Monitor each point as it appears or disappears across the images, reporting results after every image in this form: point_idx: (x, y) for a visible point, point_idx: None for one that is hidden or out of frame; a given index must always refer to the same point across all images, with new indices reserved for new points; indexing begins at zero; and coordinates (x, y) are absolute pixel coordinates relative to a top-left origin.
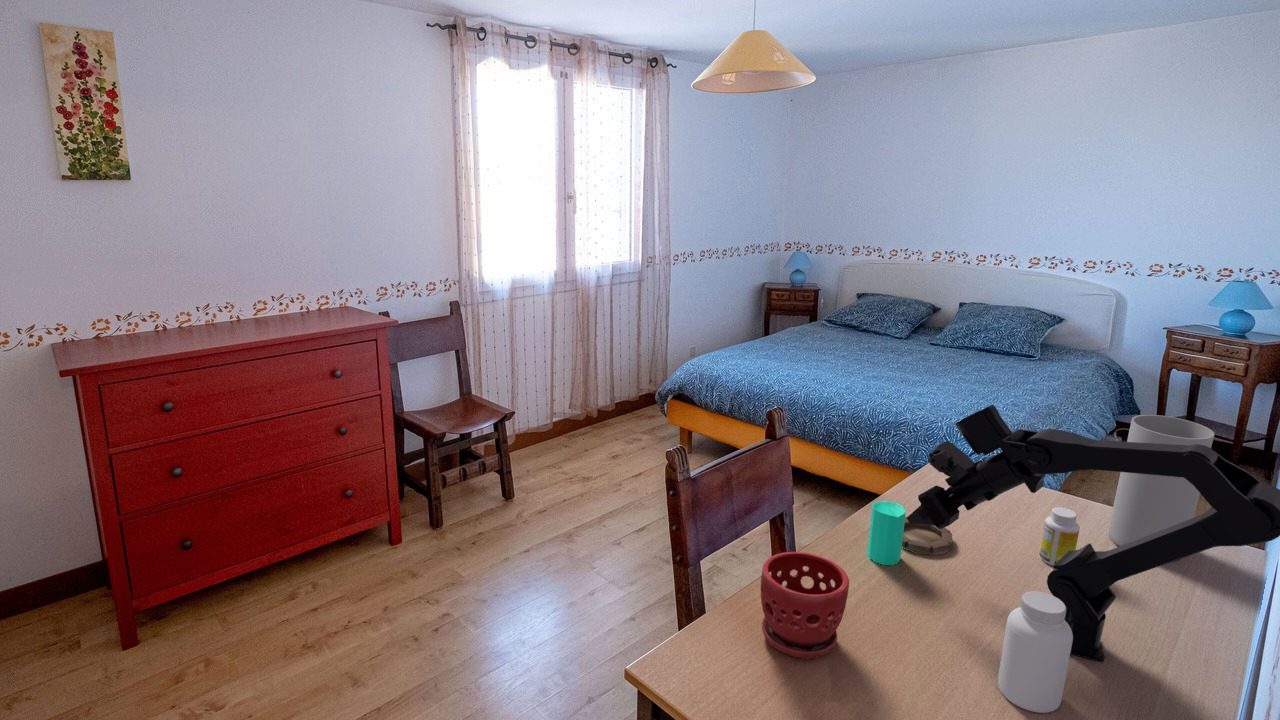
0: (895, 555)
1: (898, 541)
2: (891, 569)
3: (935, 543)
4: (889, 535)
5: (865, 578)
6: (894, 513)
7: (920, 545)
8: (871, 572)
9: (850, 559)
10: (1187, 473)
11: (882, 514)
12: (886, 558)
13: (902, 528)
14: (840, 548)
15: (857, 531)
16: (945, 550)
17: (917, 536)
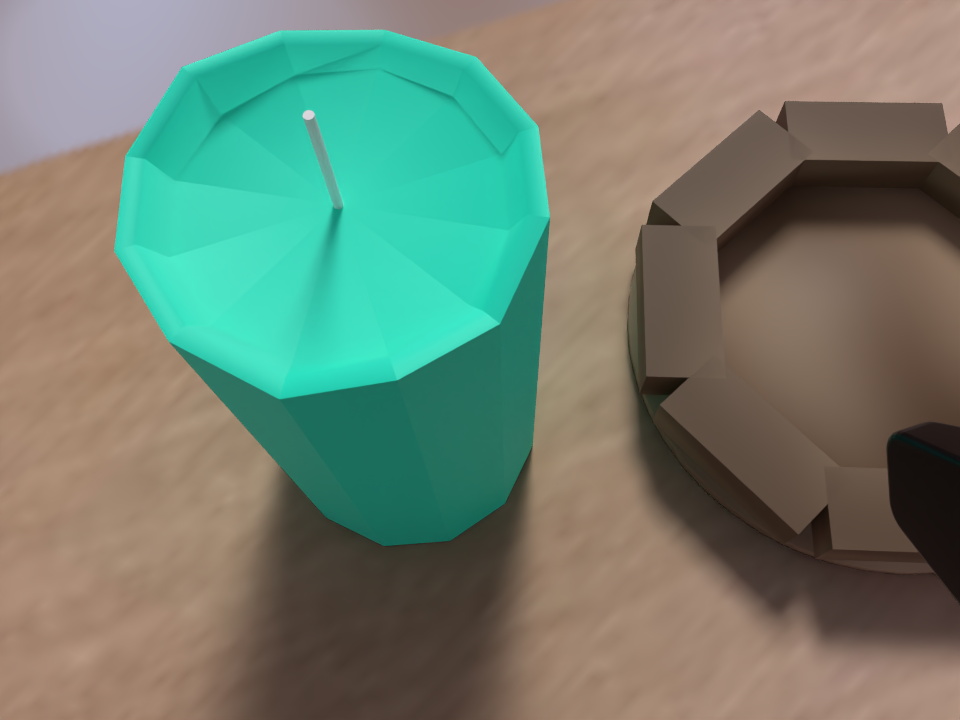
0: (394, 527)
1: (395, 493)
2: (338, 584)
3: None
4: (275, 446)
5: (59, 601)
6: (328, 299)
7: (741, 469)
8: (166, 554)
9: (168, 356)
10: None
11: (135, 275)
12: (325, 508)
13: (417, 451)
14: None
15: None
16: None
17: (861, 311)
